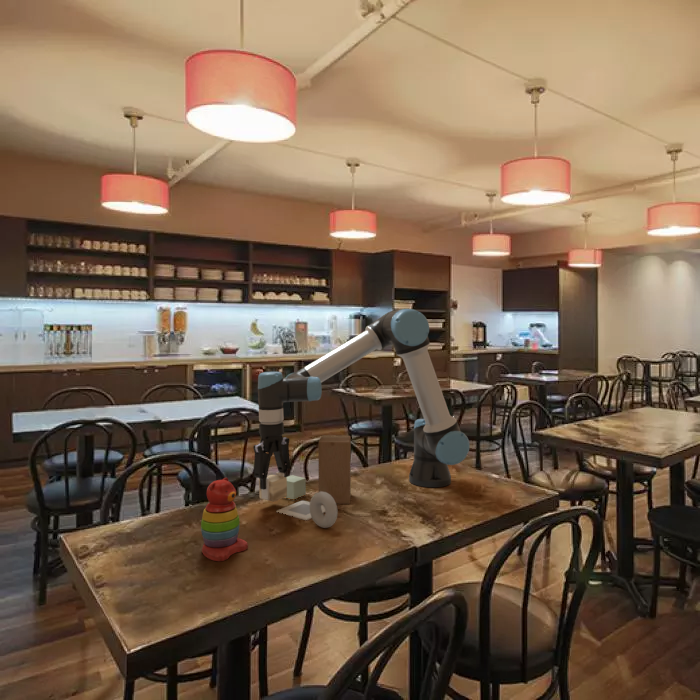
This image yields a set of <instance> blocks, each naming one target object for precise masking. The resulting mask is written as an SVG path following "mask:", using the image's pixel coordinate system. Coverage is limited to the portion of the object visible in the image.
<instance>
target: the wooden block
mask: <svg viewBox="0 0 700 700" xmlns="http://www.w3.org/2000/svg"><path fill="white" fill-rule="evenodd" d="M351 438H352V437H351V435H325V434H324V435H320V438H319V439H318V440H319V441H318V492H321V491H322V492H326V493H328V494H330V495H331V496H332V497H333V499H334V500H335V502H336V505H349V504H351V491H352V490H351V486H352V485H351V477H352V476H351V475H352V474H351V466H352V465H351V464H352V463H351V451H352V450H351V446H352V445H351V442H352V440H351Z"/></svg>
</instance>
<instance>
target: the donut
mask: <svg viewBox="0 0 700 700" xmlns="http://www.w3.org/2000/svg"><path fill="white" fill-rule="evenodd" d="M309 502H310V514H311V517H312V518H311V519H312V521H313V522H314V523H315V524H316V525H317V526H318V527H319V528H324V529H327V528H330V527H332V526H333V525H334V524H335V523H336V521H337V518H338V512H339V511H338V506H337V505H338V504H336V502H335V500H334V499H333V497H332V496H331V495H330V494H328V493H326V492H322V491H321V492H319V491H318V492H316V493H314V495H313V496H312V497H311V499H310V501H309ZM321 505H323V506H324V507H325V512H324V513H325V514H324V513H323V512H322V509H321Z"/></svg>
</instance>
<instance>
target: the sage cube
mask: <svg viewBox="0 0 700 700" xmlns="http://www.w3.org/2000/svg"><path fill="white" fill-rule="evenodd" d="M286 477H287V497H286V498H290V499H296V498H298V497H301V496H303V495H307V494H306V493H307V492H306V491H307V489H306V484H307V483H306V482H307V481H306V477H302V476H297V475H294V474H291V475H288V476H286ZM286 498H285V499H286ZM301 498H302V497H301ZM290 499H289V500H290ZM296 500H297V499H296Z"/></svg>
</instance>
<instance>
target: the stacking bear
mask: <svg viewBox="0 0 700 700" xmlns="http://www.w3.org/2000/svg"><path fill="white" fill-rule="evenodd" d="M236 496H237V490H236V488H235V487H234V485H233V484H232V482H230V481H229V478H228V477H224V478H222V479H218V480H214V481H212V482H211V483H210V484H209V485H208V486H207V489H206V497H207V500H208V503H207V504H206V506H205V508H204V509H203V512H202V518H201V522H200V531H201V535H202V539H203V545H202V547H201V552H202V554H203V556H204V557H205V558H207V559H208V560H212V561H214V562H223V561H226V560H228V559H229V558H230V556H232V555H233V554H235V553H239V552H243V551H246V550H247V549H248V548H249V544H248V542H247V541H246V540H244V539H242V538H239V537H238V536H239V532H240V521H241V520H240V517H239V513H238V509H237V505H236V503H235V502H234V500H235V499H236Z"/></svg>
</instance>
